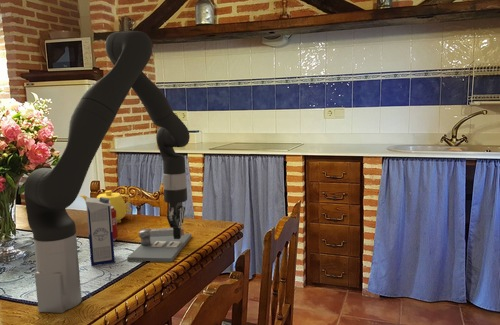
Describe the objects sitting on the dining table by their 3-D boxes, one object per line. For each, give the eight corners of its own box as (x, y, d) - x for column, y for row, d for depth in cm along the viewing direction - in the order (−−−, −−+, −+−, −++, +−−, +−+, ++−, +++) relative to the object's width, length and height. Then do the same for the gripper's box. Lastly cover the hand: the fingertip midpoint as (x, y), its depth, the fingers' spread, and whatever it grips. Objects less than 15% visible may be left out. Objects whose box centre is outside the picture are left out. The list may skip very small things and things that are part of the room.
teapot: (132, 223, 170) (130, 192, 169) (79, 228, 165) (77, 196, 163) (131, 214, 183) (130, 186, 182) (83, 219, 178) (80, 189, 176)
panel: (171, 262, 127) (171, 250, 127) (127, 261, 129) (126, 249, 128) (191, 236, 151) (191, 226, 150) (154, 236, 152) (153, 226, 152)
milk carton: (91, 258, 132) (86, 196, 129) (113, 255, 134) (109, 194, 131) (91, 266, 125) (86, 201, 122) (114, 262, 128) (110, 198, 125)
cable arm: (184, 236, 139) (183, 229, 139) (138, 238, 138) (138, 232, 137) (184, 232, 143) (184, 226, 143) (140, 235, 142) (139, 228, 141)
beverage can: (112, 243, 146) (109, 210, 144) (95, 242, 147) (93, 209, 145) (121, 237, 152) (119, 205, 150) (105, 237, 153) (103, 205, 151)
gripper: (180, 190, 129) (183, 245, 131) (191, 183, 142) (193, 232, 144) (157, 190, 130) (159, 244, 132) (170, 183, 143) (172, 232, 145)
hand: (177, 238), depth 138 cm, fingers closed
